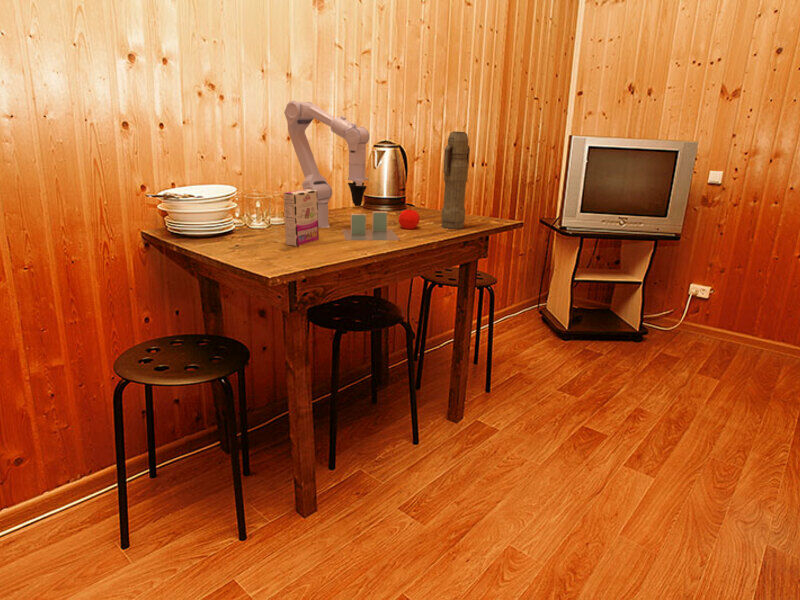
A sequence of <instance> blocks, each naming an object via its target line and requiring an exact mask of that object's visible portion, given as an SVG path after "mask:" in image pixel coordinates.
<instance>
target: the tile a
mask: <svg viewBox="0 0 800 600" xmlns="http://www.w3.org/2000/svg"><path fill="white" fill-rule="evenodd" d="M350 230H351V235H366V230H367V214H366V213H350Z"/></svg>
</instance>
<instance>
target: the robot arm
mask: <svg viewBox="0 0 800 600" xmlns="http://www.w3.org/2000/svg"><path fill="white" fill-rule="evenodd" d="M284 116H285V118H286V121H287V123H286V124H287V132H288V135H289V138H290V141H291V143H292V146H293V149H294V153H295V154H296V157H297V160H298V162H299V165H300V168H301V170H302V173H303V175H304V176H303V177H304V180H303V181H302V183H301V186H302V188H303V189H302V190H305V189H309V190H317V200H318V228H330V223H329V202H330V199H331V198H332V196H333V189H332V186H331V185H330V184H329V183H328V181H327V178H325V176H323V175H322V174H320V169H319V167H318V165H317V163H316V159H315V157H314V154H313V151H312V148H311V145H310V142H309V139H308V137H307V135H306V130H307V129H308V127H309V126H310V125H311V123H312V122H313V120H317V121H318V122H320V123H323V124H324V125H325V126H328V127H330V130H331V132H332V133H334V134H336V135H337V136H339V137H340V138H341V139H343V140H345V143H347V149H348V177H347V180H348V181H349V182H348V183H347V185H348V187H349V190H350V194H351V200H352V204H354V206H355V207H361V206H362V204H363V203H362V202H363V199H364V198H363V197H364V194H365V192H366V189H367V188H368V187H367V185H365V181H369V180H370V178H369V177H366V171H367V170H366V169H367V168H366V165H367V163H366V161H367V151H366V150H367V144H368V142H369V141H370V132H369V131H368V129H366V127H364V126H359V127H358V126H357V124H356V123H354V122H350V121H349V120H347V117H346V116H344V115H343V116H336V117H334V116H333V115H332V114H331V113H329V112H327V111H326V110H324V109H323V108H321V107H319V106H318V105H317V104H315V103H313V102H310V101H306V102H305V101H296V100H290V101H289V102H288V103H287V104H286V107H285V109H284Z"/></svg>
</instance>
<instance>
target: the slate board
mask: <svg viewBox="0 0 800 600" xmlns="http://www.w3.org/2000/svg"><path fill="white" fill-rule="evenodd" d="M341 231H342V234H343V236H344V237H343V238H344V240H345V241H401V239H400V237H399V236H397V234H396V233H395V232H394V230H393V229H387V232H372V229H366V235H351V229H341Z"/></svg>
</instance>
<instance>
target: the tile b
mask: <svg viewBox="0 0 800 600" xmlns="http://www.w3.org/2000/svg"><path fill="white" fill-rule="evenodd" d="M371 216H372V219H371V220H372V221H371V224H372V225H371V227H372V228H371V230H372V232H387V230H388V211H372V215H371Z"/></svg>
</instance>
